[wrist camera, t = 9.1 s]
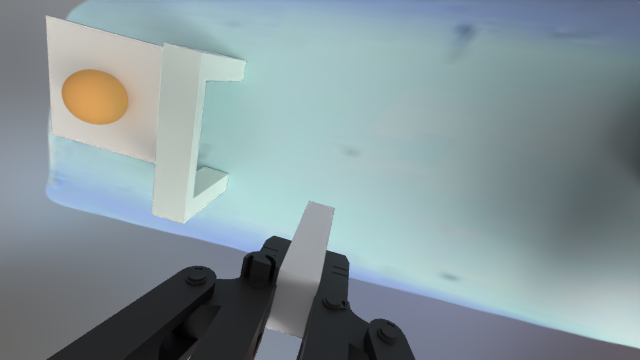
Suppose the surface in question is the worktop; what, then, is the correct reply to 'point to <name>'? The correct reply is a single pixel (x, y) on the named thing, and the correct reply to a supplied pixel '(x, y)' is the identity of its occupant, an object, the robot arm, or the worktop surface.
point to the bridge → (186, 131)
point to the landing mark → (123, 64)
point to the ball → (94, 97)
